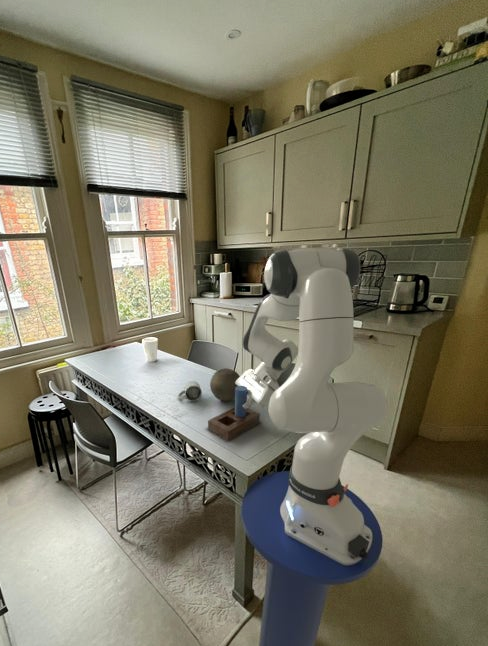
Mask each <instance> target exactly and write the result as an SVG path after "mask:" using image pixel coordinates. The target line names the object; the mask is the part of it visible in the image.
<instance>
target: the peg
mask: <svg viewBox="0 0 488 646" xmlns="http://www.w3.org/2000/svg"><path fill="white" fill-rule="evenodd" d="M247 401H248V394H247V387H245V386H237V387H236V388H235V398H234V407H235V415H236V416H238V417H240V418H244V417H246V409H247V408H248V407H247V408H246V409H245V408H244V407H243V406H242V404H243V403H244V402H245V403H246V402H247Z"/></svg>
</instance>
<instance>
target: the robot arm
mask: <svg viewBox="0 0 488 646" xmlns="http://www.w3.org/2000/svg"><path fill="white" fill-rule="evenodd" d="M360 274H361V259H360V257H359V256H358V254H357V253H356V251H354V250H352V249H349V248H342V247H339V248H337V249H336V248H315V247H308V248H307V247H306V248H298V249H293V250H287V249H284V250H280V251H277V252H274V253H272V254H271V255H270V256H269V257H268V258H267V260H266V264H265V267H264V272H263V279H264V284H265V288H266V290H267V291H268V292H269V293H268V294H266V295H265V296H263V298H262V299H261V300H260V301H259V303H258V304H257V306H256V309H255V311H254V314H253V316H252V319H251V320H250V323H249V326H248V329H247V330H246V332H245V333H244V336H243V337H242V346H243V350H245V351H246V352H248V353H249V354H251V355H252V356H254V357H256V358H257V359H258V360H260V363H259V364H258V365H257V367H256V368H255V369H254V368H251V369H248V370H246V371H244V372H243V373H242V374H240V375H239V376H240V377H239V378H238V379H237V380H236V382H235V384H236V385H237V386H245V387H247V396H249V398H248V400H247V402H246V403H245V402H244V403H243V404H242V406H243V407H244V408H245V409H246V408H249V406H250V407H251V406H253V405H255V403H257V404H258V405H259V406H260V407H261V408H266V407H267V410H268V415H269V418H270V420H271V422H272V424H273V425H274V427H276V429H278V430H279V431H281V432H288V433H296V434H305V435H303V436H301V437H300V438H299V439H298V440H297V442H296V443H295V446H294V450H293V457H292V464H291V466H290V469H289V471H290V473H289V480H288V481H289V487H288V491H287V494H286V497H285V499H284V501H283V502H282V504H281V507H280V513H281V517H282V519H283V521H284V523H285V533H286V534H287V535H288V536H290V537H292V538H294V539H296V540H298V541H300V542H302V543H303V544H305V545H307V546H309V547H311V548H313V549H315V550H316V551H318V552H320V553H322V554H324V555H326V556H328V557H330V558H331V559H333V560H335V561H337V562H339V563H341V564H343V565H352V564H355V563H357V562H359V561H360V560H361V559H362V558H367V556H368V554H367V552H368V551H369V549H370V547H371V544H372V532H371V530H370V529H369V528H368V527H367V526H366V525H364V518H363V515H362V513H361V512H360V511H359V509H358V508H357V507H356V506H355V505H354V504H353V503H352V501H351V499H350V498H348V497H347V496H346V495H345V494H344V493H345V491H346V490H347V489H349V488H348V487H349V484H345V486H344V488H343V487H342V486H343V485H342V481H341V477H340V475H341V472H342V468H343V464H344V461H345V459H346V456H347V454H348V453H349V451H350V450H351V448H352V447H353V446H354V445H355V443H357V442H358V440H359V439H360V438H361V437H363V436H364V434H366V433H368V431H370V430H372V429H373V428H375V427H377V426H380V425H381V424H382V423H383V421H384V420H385V418H386V416H387V413H388V400H387V397H386V395H385V394H384V392H383V391H382V389H381V388H379V387H378V386H377V385H375V384H371V383H365V382H358V381H342V382H341V381H340V382H329V379H330V376H331V375H332V373H333V371H334V370H335V369H336V368H337V367H340V366H341V365H343V364H344V363H346V362H347V361H348V360H350V358H351V357H352V355H353V354H354V349H355V348H354V343H355V342H354V339H355V336H354V332H355V331H354V330H355V329H354V325H355V324H354V319H355V318H354V315H355V314H354V300H353V299H354V298H353V293H352V290H353V288H355V285H356V284H357V283H358V281H359V278H360ZM269 319H272V320H275V321H278V322H289V321H290V322H291V321H295V320H296V319H298V346H297V345H296V344H295V342H293V341H292V340H291V339H287V338H285V339H283V340H280V339H279V338H277V337H276V336H274V335H273V334H271V333H270V332H269V330H267V329H266V325H267V323H268V320H269ZM295 359H296V362H295V364H294V367H293V369H292V372H291V373H290V375H289V376H288V377H287V379H286V380H285V381H284V382H283V384H281V385H279V383H278V379H279V378H280V377H281V375H282V374H283V372H285V371H287V370H288V368H289V367H290V366H291V365H292V363H293V362H294V361H295ZM294 533H296V534H294ZM351 557H352V558H351ZM353 558H354V559H353Z"/></svg>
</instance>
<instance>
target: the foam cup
mask: <svg viewBox="0 0 488 646" xmlns="http://www.w3.org/2000/svg"><path fill="white" fill-rule="evenodd" d="M141 343H142V347H143V351H144V355H145V360H146V362H149V363H150V362H151V363H152V362H156V361H157V360H158V348H159V347H158V344H159V338H157V337H153V336H150V337H145V338H142V340H141Z"/></svg>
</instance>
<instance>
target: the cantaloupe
mask: <svg viewBox="0 0 488 646" xmlns="http://www.w3.org/2000/svg"><path fill="white" fill-rule="evenodd" d="M240 376H241V375H239V373H238V372H237V371H235V370H234V369H231V368H228V367H227V368H226V367H225V368H224V367H223V368H221V369H218V370H216V371H215V372H214V374H213V375H212V377H211V379H210V383H209V387H210V388H209V389H210V391H211V393H212V395H213V396H214V397H215V398H216V399H217V400H219V401H222V402H228V401H232V400H233V399H235V388H236V387H237V385H236V384H235V382H236V380H237V379H238V378H239V377H240Z"/></svg>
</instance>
